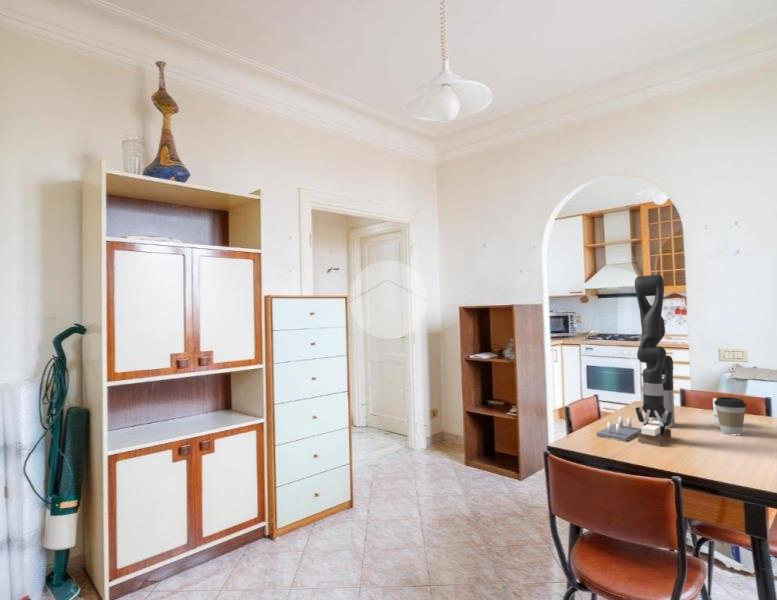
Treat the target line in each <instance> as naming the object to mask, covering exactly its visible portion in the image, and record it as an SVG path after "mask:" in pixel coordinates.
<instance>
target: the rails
mask: <svg viewBox="0 0 777 600" xmlns="http://www.w3.org/2000/svg"><path fill="white" fill-rule="evenodd" d="M637 438H638V439H637V440H638V441H637V442H638V443H639V442H641V444H645V443H646V444H645V445H651V446H657V447H661V446H662V443H663V442H662V439H664V438H665V439H666V440H669V439H670V440H671V439H672V428H667V429H665V434H664V435H660V433H659V434H657V435H656V436H652V435H647V434H642V433H641V432H638V435H637ZM665 439H664V440H665Z"/></svg>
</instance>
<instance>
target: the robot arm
mask: <svg viewBox="0 0 777 600" xmlns="http://www.w3.org/2000/svg"><path fill="white" fill-rule="evenodd" d="M634 290H635V294H636V298H637V303H638V308H639V317H640V324H641V340H640V343H639V347H638V349H637V352H636V357H637V359H638V361H639V362H641V363H643V364H644V363H645V367H646V368H644V369H643V370H642V401H643V402H642V403H643V405H642V406H637V407H636V408H635V412H636V415H637V420H638V421H639V422H641V423H643V426H645V425H647V424H649V423H650V422H649V421H650V419H651V422H652V421H659V423H660V425H661V426H660V432H661V433H660V435H664V434H665V426H667V428H674V427H676V421H675V398H674V397H675V396H674V361H673V357H672V356H671V355H667V351H666V349H665V348H664V347H663V346H659V344H660V342H661V341H662V339H663V338H664V336H665V335H666V328H665V320H664V318H663V316H662V313H663V312H662V311H663V306H664V295H665V280H664V278H663V276H662V275H660V274H652V275H651V274H650V275H639V276H637V277H635V279H634ZM647 297H654V300H653V303H652V305H651V303H650V301H648V298H647ZM663 376H664V377H663ZM643 411H644V413H645V416H643V413H642V412H643Z"/></svg>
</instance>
